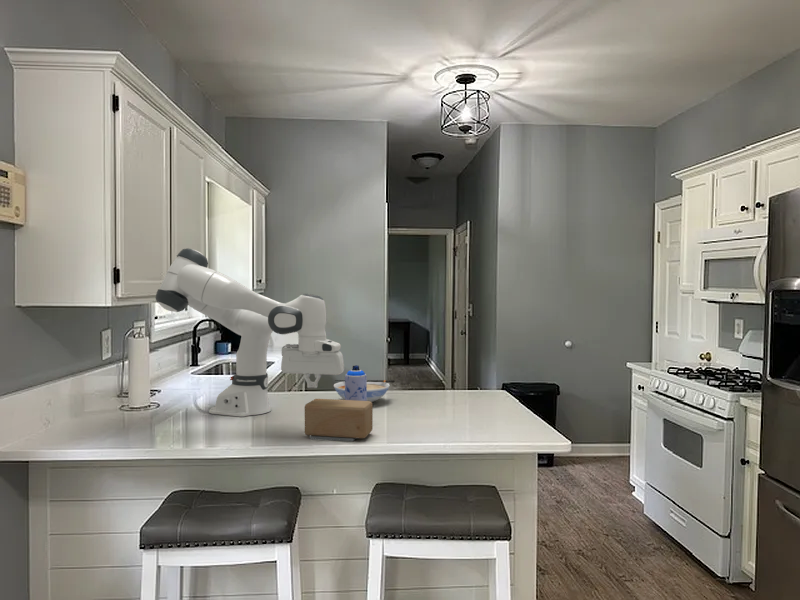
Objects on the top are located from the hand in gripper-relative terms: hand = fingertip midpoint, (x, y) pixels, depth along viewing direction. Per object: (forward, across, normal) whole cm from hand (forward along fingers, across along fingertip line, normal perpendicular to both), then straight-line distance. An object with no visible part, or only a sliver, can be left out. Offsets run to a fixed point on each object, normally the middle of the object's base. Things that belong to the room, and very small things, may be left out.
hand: (312, 387), depth 187 cm
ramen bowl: (+15, +4, +50) cm, 53 cm away
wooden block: (+9, -1, 0) cm, 9 cm away
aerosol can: (+15, +10, +17) cm, 25 cm away
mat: (+15, +8, 0) cm, 17 cm away
